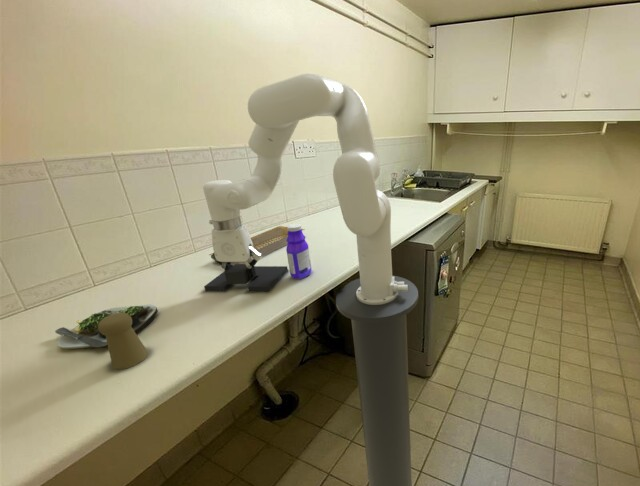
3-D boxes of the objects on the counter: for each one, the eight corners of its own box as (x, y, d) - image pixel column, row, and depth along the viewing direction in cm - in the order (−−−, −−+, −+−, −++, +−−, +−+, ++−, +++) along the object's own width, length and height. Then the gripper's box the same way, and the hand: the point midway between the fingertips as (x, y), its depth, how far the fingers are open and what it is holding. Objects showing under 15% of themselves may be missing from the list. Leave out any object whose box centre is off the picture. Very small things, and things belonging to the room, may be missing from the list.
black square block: (256, 275, 100) (253, 263, 98) (246, 284, 94) (243, 272, 93) (238, 275, 100) (235, 264, 99) (227, 284, 95) (224, 272, 93)
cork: (151, 346, 72) (134, 305, 68) (145, 363, 67) (127, 320, 63) (117, 355, 69) (98, 313, 65) (108, 373, 64) (87, 329, 60)
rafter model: (239, 269, 109) (235, 253, 107) (211, 263, 114) (206, 248, 112) (305, 236, 139) (303, 223, 137) (281, 233, 144) (278, 220, 142)
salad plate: (25, 359, 69) (14, 342, 67) (93, 313, 85) (86, 298, 84) (118, 352, 70) (111, 335, 69) (167, 308, 87) (162, 293, 85)
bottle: (301, 269, 108) (293, 221, 102) (315, 271, 106) (308, 223, 100) (287, 278, 102) (278, 228, 95) (302, 281, 100) (293, 230, 94)
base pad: (288, 270, 107) (287, 266, 107) (268, 291, 94) (267, 286, 94) (232, 270, 108) (231, 266, 108) (205, 291, 95) (204, 286, 95)
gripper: (190, 228, 87) (207, 284, 94) (249, 227, 86) (262, 284, 93) (208, 220, 94) (222, 272, 101) (263, 219, 93) (274, 272, 100)
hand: (241, 277), depth 97 cm, fingers closed on black square block, 6 cm apart
